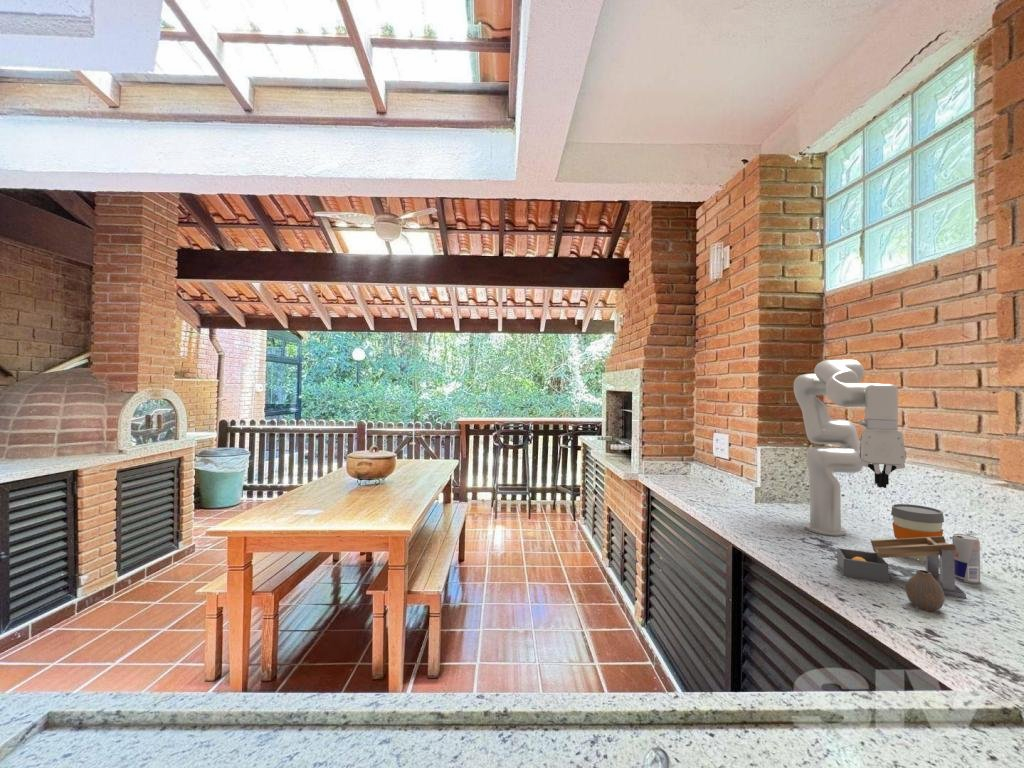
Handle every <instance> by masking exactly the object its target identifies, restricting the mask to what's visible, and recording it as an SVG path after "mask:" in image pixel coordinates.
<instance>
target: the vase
mask: <svg viewBox="0 0 1024 768" xmlns="http://www.w3.org/2000/svg"><path fill="white" fill-rule="evenodd" d="M905 593H906V596H907V599H908V600H909V602H910V603H911V604H912V605H913V606H914V607H916V608H917V609H919V610H921V611H927V612H931V613H932V612H936V611H938V610H940V609H941V608H942V607H943V606H944V603H945V595H944V592H943V589H942V587H941V586H940V584H939V583H938V582H937V581H936V580H935V579H934V577H933V576H932V574H931V573H930V572H929V571H926V569H918V571H917V573H916V572H915V573H914V575H912V576H911V577H910V578H909V579H907V581H906V585H905Z"/></svg>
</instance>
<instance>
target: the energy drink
mask: <svg viewBox="0 0 1024 768" xmlns="http://www.w3.org/2000/svg"><path fill="white" fill-rule="evenodd" d="M952 544H955V547H956V550H957V554H954V560H955V580H957V581H960V582H963V583H967V584H974V585H975V584H979V583H981V549H980V548H981V542H980V540H979V538H978V536H977V537H976V536H974V535H969V534H963V533H953V535H952Z"/></svg>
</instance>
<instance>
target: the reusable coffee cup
mask: <svg viewBox="0 0 1024 768" xmlns="http://www.w3.org/2000/svg"><path fill="white" fill-rule="evenodd" d="M890 512H891V513H890V515H891V516H892V519H893V520H892V523H891V524H892V528H893V529H892V530H893V535H894V539H904V538H919V537H935V536H943V532H944V530H943V529H942V528H943V523H945V519H944V511H942V510H941V509H938V508H934V507H929V506H925V505H917V504H910V503H909V504H908V503H895V504H892V505H891V511H890ZM911 558H914V559H913V560H915V559H919V560H918V561H921V560H925V556H911V557H910V558H909V559H911Z"/></svg>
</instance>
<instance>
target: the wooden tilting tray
mask: <svg viewBox="0 0 1024 768" xmlns="http://www.w3.org/2000/svg"><path fill="white" fill-rule="evenodd" d="M870 544H871V547H872V550H873V551H874V553H876V554H877V555H878V556H879V557H880V558H883V559H884V558H891V559H892V558H905V557H906V558H908V557H911V556H930V555H939V556H940V549H943V550H951V551H953V552H954V554H957V550H956V547H955V544H953V543H948V542H947V541H946V539H945V536H944V535H942V536H935V537H919V538H904V539H897V538H894V539H893V537H890V536H887V537H886V536H885V537H875V538H874V537H873V538H872V537H870Z"/></svg>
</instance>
